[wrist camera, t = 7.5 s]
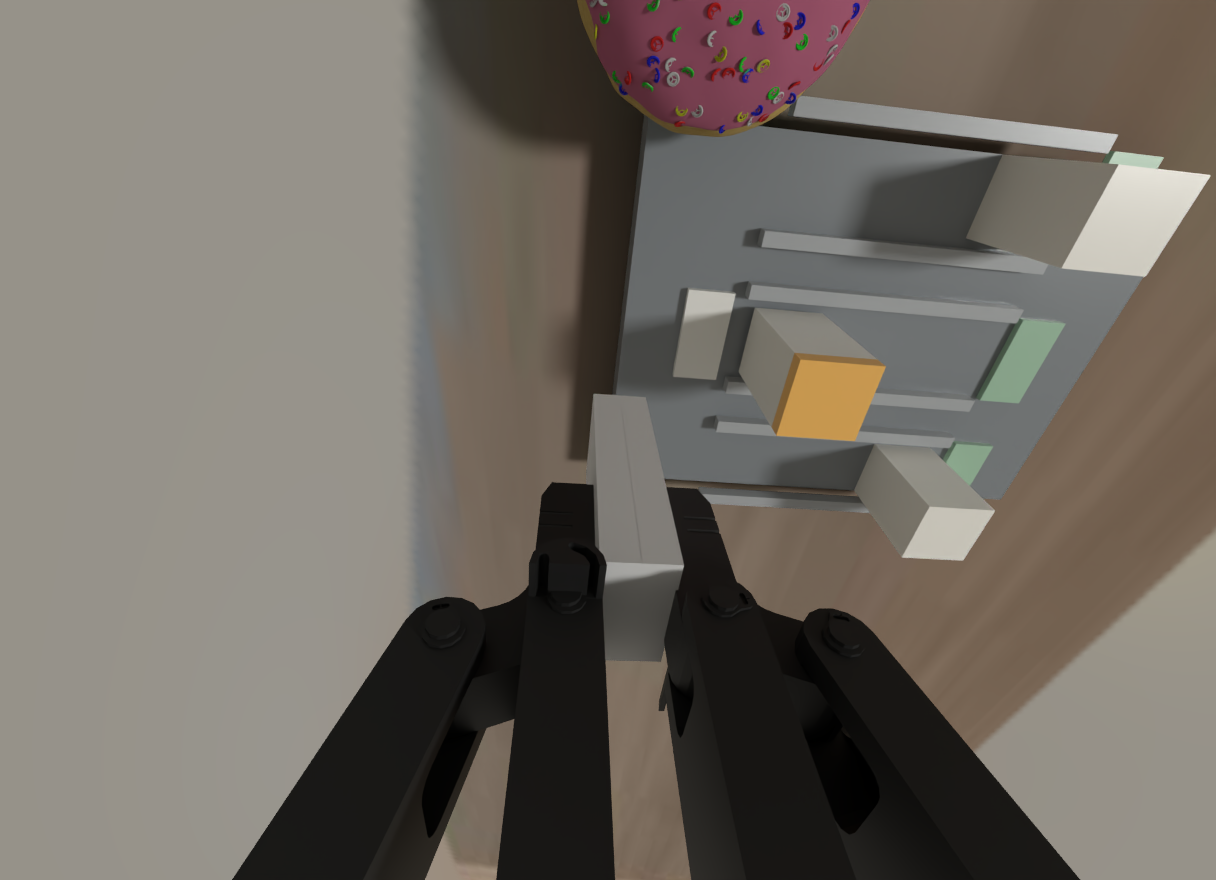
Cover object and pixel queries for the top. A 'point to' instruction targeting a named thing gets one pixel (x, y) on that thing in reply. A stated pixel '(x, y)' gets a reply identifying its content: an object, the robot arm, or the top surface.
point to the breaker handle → (808, 375)
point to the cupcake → (716, 56)
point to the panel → (883, 301)
